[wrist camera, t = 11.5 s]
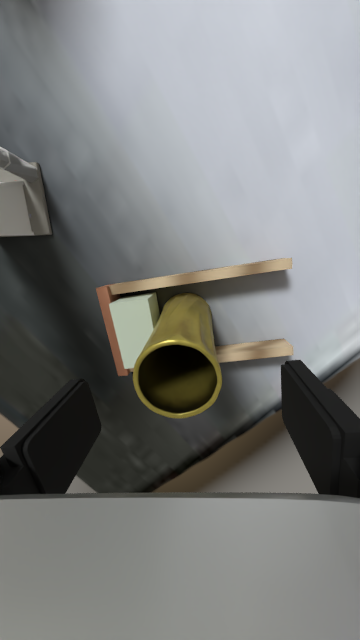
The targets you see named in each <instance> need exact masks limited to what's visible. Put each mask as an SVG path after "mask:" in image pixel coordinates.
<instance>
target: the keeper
mask: <svg viewBox="0 0 360 640" xmlns="http://www.w3.org/2000/svg"><path fill="white" fill-rule="evenodd" d="M109 307H110V312H111V316H112V320H113V324H114V328H115V332H116V336H117V340H118V344H119V348H120V352H121V356H122V361H123V365H124V369H128V368H134V365H135V362H136V360H137V358H138V357H139V355H140V353H141V352H142V350H143V348H144V346H145V345H146V343H147V341H148V339H149V337H150V336H151V334H152V332H153V330H154V328H155V326H156V324H157V322H158V320H159V318H160V312H159V307H158V301H157V296H156V292H153V293H146V294H140V295H133V296H126V297H122V298H120V299H118V300H116V301H114V302H112V303H110V304H109Z"/></svg>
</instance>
